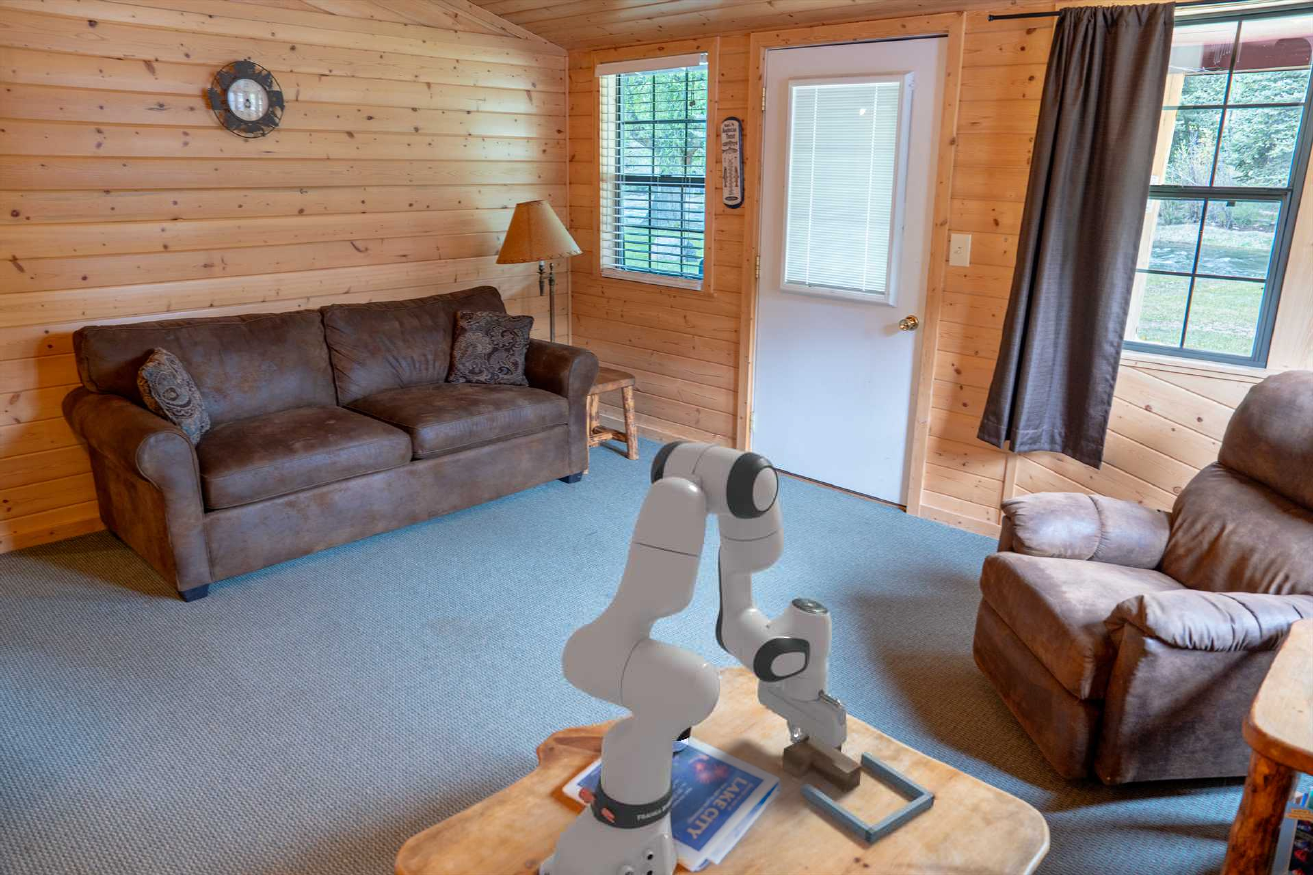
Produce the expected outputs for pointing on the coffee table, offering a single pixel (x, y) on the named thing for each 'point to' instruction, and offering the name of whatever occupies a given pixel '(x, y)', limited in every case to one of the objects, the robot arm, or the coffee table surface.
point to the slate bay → (889, 823)
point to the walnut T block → (822, 763)
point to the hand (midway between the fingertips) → (798, 743)
